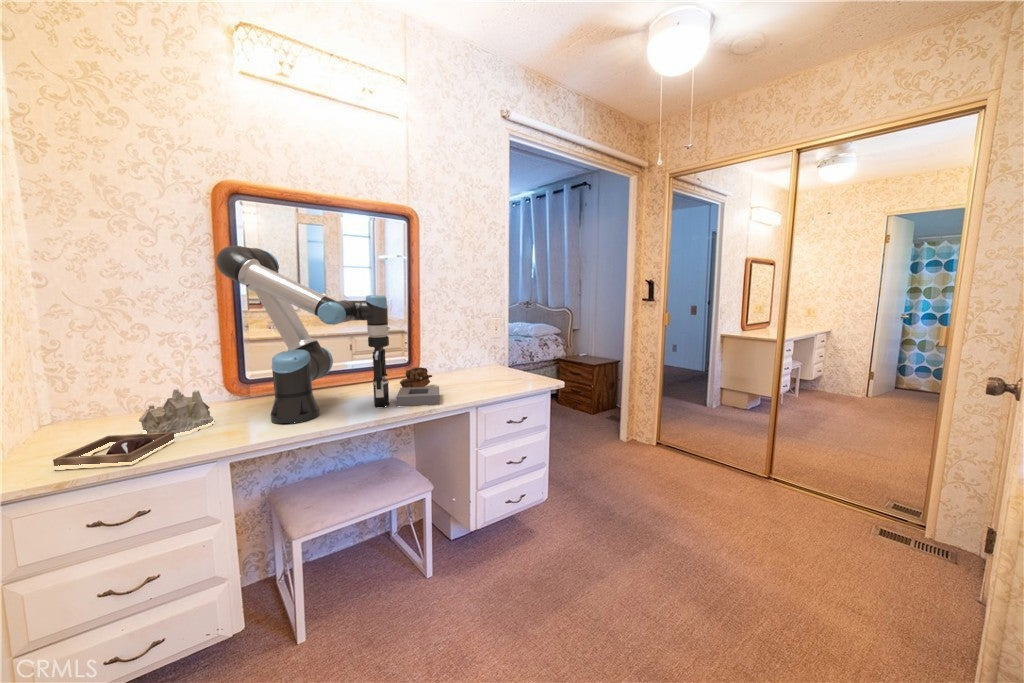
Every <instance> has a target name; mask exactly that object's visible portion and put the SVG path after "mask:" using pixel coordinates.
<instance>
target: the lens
mask: <svg viewBox="0 0 1024 683" xmlns="http://www.w3.org/2000/svg"><path fill="white" fill-rule="evenodd" d="M382 380H383V393H384V397H378V398H376V388H375V381H373V380H372V385H373V386H372V388H373V403H374V406H375V407H374V408H377V407H383V408H386V407H385V406H387V407H389V406H390V395H389V394H390V392H389V390H390V389H389V384H390V383H389V381H390V380H389V379H388V378H387V379H382ZM388 405H389V406H388Z"/></svg>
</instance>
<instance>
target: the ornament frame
mask: <svg viewBox="0 0 1024 683" xmlns="http://www.w3.org/2000/svg"><path fill="white" fill-rule="evenodd" d="M140 437H150V438H151V439H152V440H154V441H152V442H150V443H148V444H146V445H145V446H143V447H141V448H139V449H137V450H135V451H133V452H131V453H128V454H112V455H106V454H99V455H97V454H95V455H92V456H81V455H83V454H85V453H88V452H90V451H92V450H94V449H96V448H98V447H101V446H103V445H105V444H107V443H109V442H118V441H121V440H124V439H130V438H140ZM173 439H175V437H174V432H165V433H147V434H142V433H134V434H133V433H132V434H115V435H114V434H113V435H111V434H110V435H106V436H104V437H101V438H100V439H98V440H95V441H93V442H90V443H88V444H85V445H83V446H81V447H79V448H76V449H74V450H72V451H70V452H68V453H65V454H62V455H61V456H58V457H56V458H54V459H52V462H53V467H54V466H58V465H59V466H60V465H79V464H80V465H81V464H100V463H118V462H132V461H134V460H136V459H138V458H140V457H142V456H143V455H145V454H147V453H149V452H150V451H153V450H154V449H156V448H158V447H160V446H162V445H164V444H166V443H168V442H169V441H171V440H173ZM79 456H80V457H79Z"/></svg>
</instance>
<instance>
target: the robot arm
mask: <svg viewBox="0 0 1024 683" xmlns="http://www.w3.org/2000/svg"><path fill="white" fill-rule="evenodd" d="M215 264H216V267H217V269H218V271H219V272H220V273H221V274H222V275H223V276H224V277H226V278H228V279H229V280H233V281H235V283H238V284H240V285H242V286H245V287H246V288H247V289H248V290H249V291H252V292H254V293H255V295H257V298H258V299H259V301H260V303H261V305H262V307H263V308H264V309H265V312H266V313H267V314H268V317H269V318H270V320H271V322H272V323H273V326H274V327H275V328H276V330H277V332H278V334H279V335H280V337H281V339H282V340H283V341H284V343H285V346H286V347H287V350H286V351H285V350H284V351H281V352H279V353H276V354H274V355H273V357H272V359H271V371H272V380H273V390H274V401H273V405H272V408H271V412H270V422H271V421H272V422H271V423H273V422H275V423H274V424H276V423H293V424H295V423H294V422H299V423H302V422H301V421H304V422H307V421H306V420H308V421H310V419H311V420H313V419H315V417H316V418H317V417H319V415H320V407H319V405H318V402H317V400H316V399H315V396H314V394H313V381H315V380H318V379H321V378H323V377H325V376H326V375H327V374H328V373H329V372H330V371H331V370H332V367H333V363H334V359H333V356H332V353H331V352H330V351H329V350H328V349H327V348H324V347H322V346H321V344H320V343H319V341H318V340H317V339H314V338H312V337H311V335H310V334H309V332H308V330H307V329H306V327H305V325H304V324H303V322H302V320H301V319H300V316H299V315H298V313H297V311H296V310H295V308H294V306H295V307H297V308H299V309H301V310H303V311H306V312H308V313H310V314H312V315H314V316H317V317H318V319H320V321H321V322H322V323H323V324H326V325H333V326H334V325H339V324H343V323H347V322H353V321H366V323H367V324H366V326H367V327H366V329H367V330H366V331H367V336H368V337H367V343H368V344H367V345H368V347H369V348H374V350H373V351H372V366H373V379H372V382H373V381H375V388H376V398H378V397H384V393H383V380H382V379H386V377H387V376H388V373H387V366H386V365H387V364H386V362H387V361H386V349H385V347H388V346H390V338H389V337H390V336H388V335H389V330H390V329H391V328H390V326H389V318H388V316H389V314H388V301H387V297H386V296H385V295H380V294H379V295H378V294H377V295H369V294H368V295H366V296H365V300H345V299H344V300H343V299H342V300H335V299H333V298H331V297H328V296H327V295H325V294H323V293H320V292H318V291H316V290H315V289H312V288H310V287H308V286H306V285H304V284H301V283H300V282H297V281H296V280H294V279H291V278H289V277H287V276H284V275H283V274H281V273H279V269H280V264H279V261H278V260H277V258H276V257H275V256H274V255H273V254H272V253H270V252H269V251H268V250H264V249H261V248H258V247H252V248H251V247H247V246H241V245H228V246H226V247H224V248H222V249H220V250H219V251H218V253H217V255H216V257H215ZM312 418H313V419H312Z"/></svg>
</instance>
